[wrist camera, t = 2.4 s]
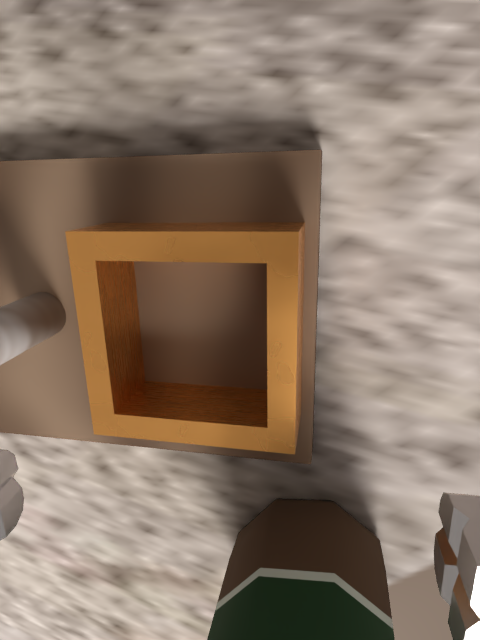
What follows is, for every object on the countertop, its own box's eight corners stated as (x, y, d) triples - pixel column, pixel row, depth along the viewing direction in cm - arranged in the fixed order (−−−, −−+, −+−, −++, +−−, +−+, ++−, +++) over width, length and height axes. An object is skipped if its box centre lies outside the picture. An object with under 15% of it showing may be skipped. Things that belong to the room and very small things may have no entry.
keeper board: (322, 151, 17) (313, 134, 10) (312, 444, 21) (301, 580, 14) (-35, 164, 20) (-233, 157, 13) (16, 416, 24) (-115, 515, 17)
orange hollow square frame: (304, 222, 16) (299, 231, 14) (300, 413, 19) (294, 454, 16) (107, 223, 18) (65, 231, 15) (126, 399, 20) (93, 434, 18)
